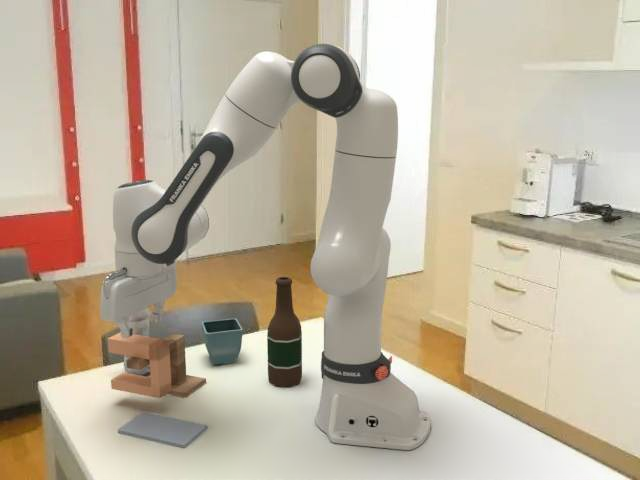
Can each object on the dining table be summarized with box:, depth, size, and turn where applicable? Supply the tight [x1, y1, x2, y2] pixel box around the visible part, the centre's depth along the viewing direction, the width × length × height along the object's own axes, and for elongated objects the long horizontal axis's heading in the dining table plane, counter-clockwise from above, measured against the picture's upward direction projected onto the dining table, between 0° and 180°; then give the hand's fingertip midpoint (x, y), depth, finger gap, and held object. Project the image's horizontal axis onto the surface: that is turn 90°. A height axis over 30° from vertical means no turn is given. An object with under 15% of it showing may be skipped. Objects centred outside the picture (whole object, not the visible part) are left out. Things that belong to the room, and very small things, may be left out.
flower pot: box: [201, 318, 244, 365], centre depth 158 cm, size 9×9×9 cm
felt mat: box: [117, 410, 209, 449], centre depth 125 cm, size 15×8×1 cm, turn 68°
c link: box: [107, 331, 172, 399], centre depth 133 cm, size 12×4×11 cm, turn 68°
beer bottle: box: [266, 276, 303, 388], centre depth 144 cm, size 8×8×24 cm
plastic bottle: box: [123, 307, 151, 376], centre depth 149 cm, size 6×7×20 cm
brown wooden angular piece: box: [126, 333, 207, 398], centre depth 138 cm, size 10×18×12 cm, turn 158°
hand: (141, 329), depth 131 cm, fingers open, 8 cm apart
